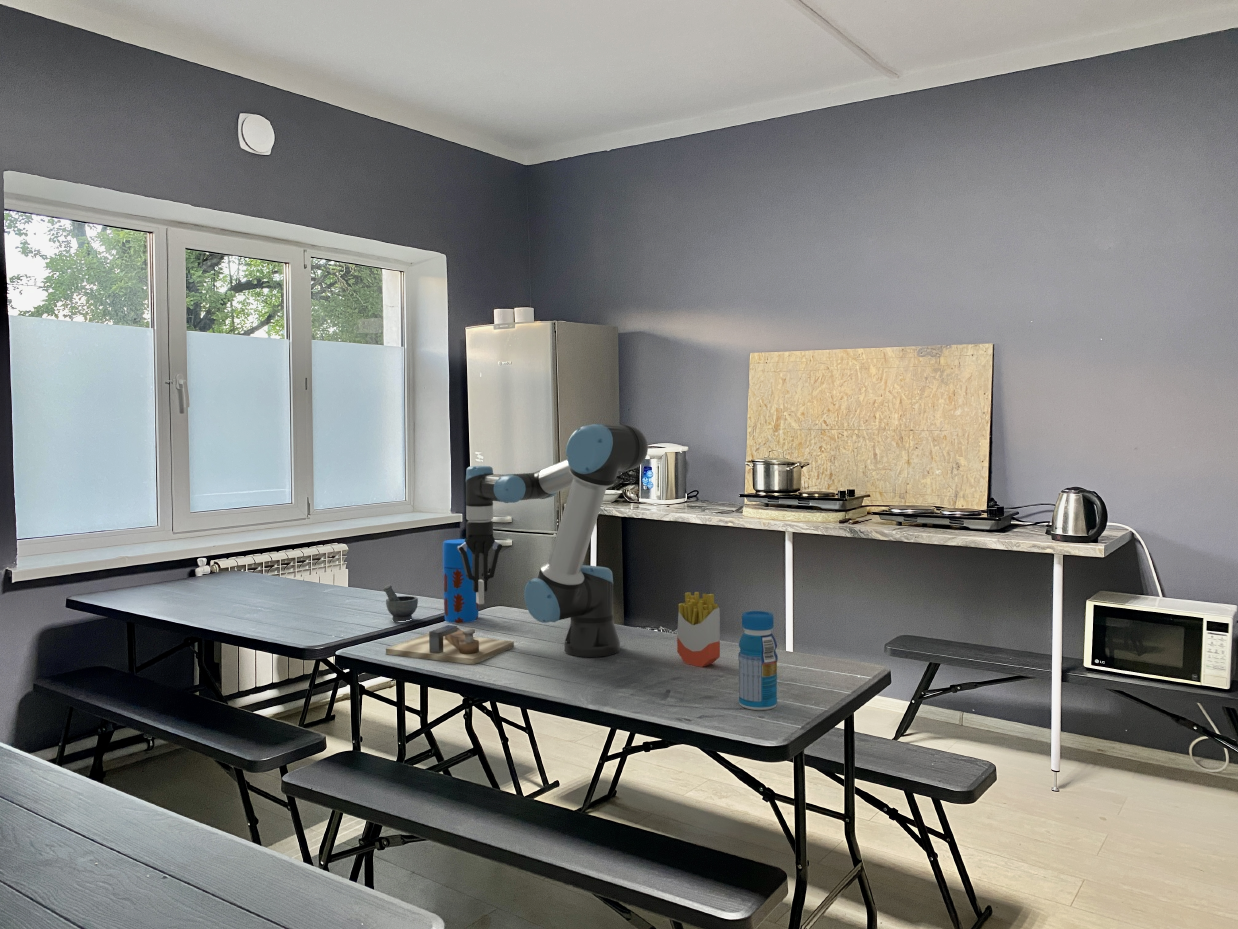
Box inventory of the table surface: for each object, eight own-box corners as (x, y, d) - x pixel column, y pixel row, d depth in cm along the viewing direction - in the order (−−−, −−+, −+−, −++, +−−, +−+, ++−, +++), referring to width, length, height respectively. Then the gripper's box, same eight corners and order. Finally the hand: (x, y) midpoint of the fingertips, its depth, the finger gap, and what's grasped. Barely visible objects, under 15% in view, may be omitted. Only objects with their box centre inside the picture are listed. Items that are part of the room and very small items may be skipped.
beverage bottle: (737, 710, 187) (737, 617, 186) (738, 698, 195) (738, 609, 195) (778, 712, 186) (778, 618, 185) (777, 700, 194) (777, 610, 193)
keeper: (457, 646, 239) (457, 626, 239) (438, 653, 231) (438, 632, 231) (448, 645, 240) (448, 625, 240) (429, 652, 233) (429, 631, 232)
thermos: (475, 622, 275) (473, 543, 274) (441, 623, 275) (439, 543, 274) (481, 615, 285) (480, 538, 284) (448, 615, 286) (447, 539, 285)
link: (481, 652, 231) (481, 630, 231) (462, 654, 229) (461, 632, 229) (459, 635, 251) (458, 615, 251) (441, 637, 249) (440, 617, 248)
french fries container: (708, 669, 219) (707, 597, 218) (676, 661, 227) (675, 592, 226) (720, 666, 222) (719, 595, 221) (688, 658, 230) (687, 590, 229)
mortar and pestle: (408, 615, 286) (407, 579, 286) (423, 620, 279) (422, 582, 279) (377, 621, 278) (376, 583, 278) (391, 625, 272) (390, 587, 271)
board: (513, 646, 244) (513, 641, 244) (473, 664, 226) (473, 658, 226) (430, 637, 255) (430, 632, 255) (385, 654, 237) (385, 648, 237)
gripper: (497, 518, 255) (498, 598, 256) (453, 520, 249) (454, 602, 250) (506, 520, 248) (506, 603, 249) (460, 523, 242) (461, 607, 243)
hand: (480, 603), depth 250 cm, fingers closed
